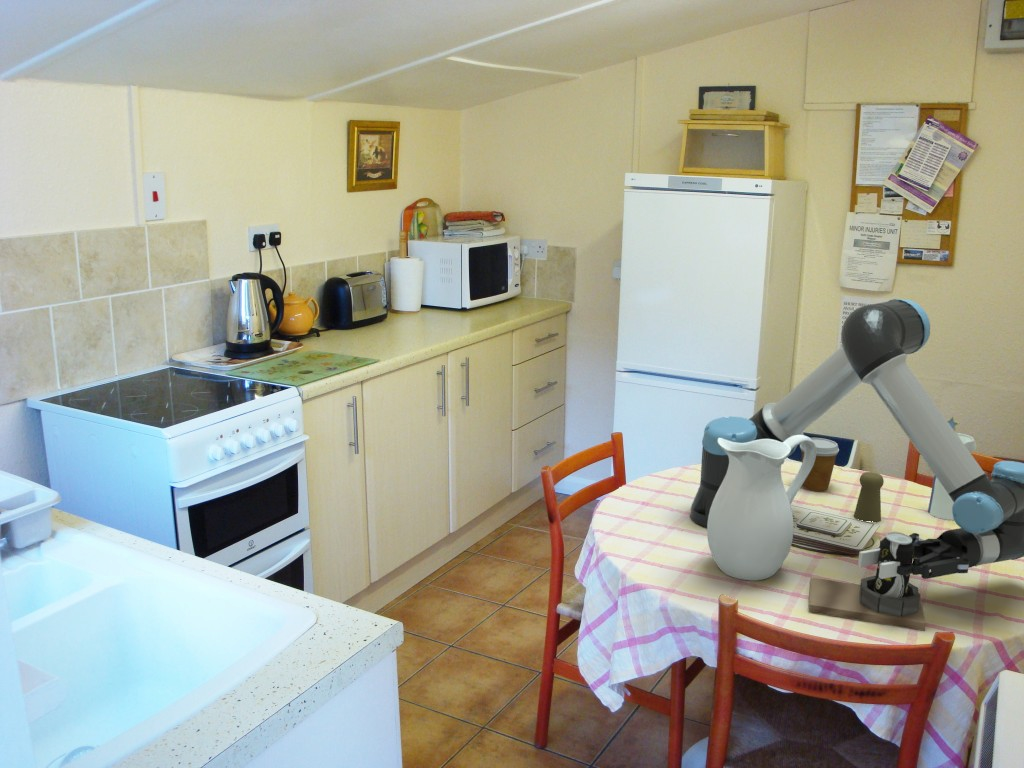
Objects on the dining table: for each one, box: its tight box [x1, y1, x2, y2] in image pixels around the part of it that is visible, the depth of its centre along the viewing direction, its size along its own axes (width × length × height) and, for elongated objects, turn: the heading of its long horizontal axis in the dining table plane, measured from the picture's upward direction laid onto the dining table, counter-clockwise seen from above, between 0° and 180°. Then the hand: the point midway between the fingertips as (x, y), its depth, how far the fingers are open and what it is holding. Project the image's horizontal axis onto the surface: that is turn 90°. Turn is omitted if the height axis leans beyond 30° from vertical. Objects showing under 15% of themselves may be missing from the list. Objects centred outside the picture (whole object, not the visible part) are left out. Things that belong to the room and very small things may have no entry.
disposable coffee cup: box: [799, 437, 840, 492], centre depth 234 cm, size 10×10×12 cm
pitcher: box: [706, 434, 817, 581], centre depth 186 cm, size 24×17×28 cm
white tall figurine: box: [927, 416, 977, 521], centre depth 215 cm, size 8×9×25 cm
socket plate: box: [808, 574, 927, 631], centre depth 173 cm, size 20×12×4 cm, turn 71°
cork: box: [853, 471, 885, 523], centre depth 214 cm, size 6×6×11 cm
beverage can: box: [874, 531, 914, 599], centre depth 169 cm, size 6×6×12 cm
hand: (870, 565), depth 168 cm, fingers closed on beverage can, 5 cm apart
